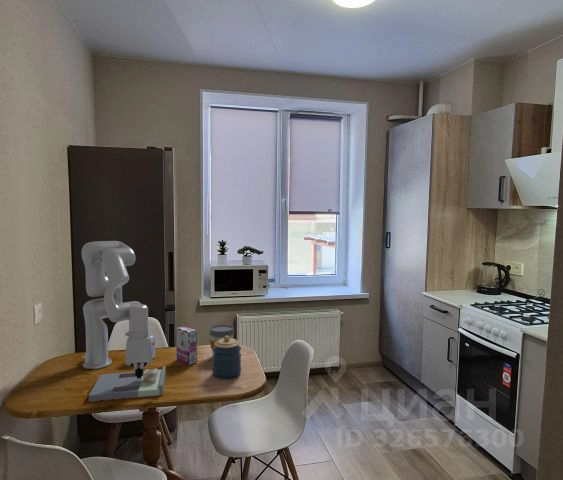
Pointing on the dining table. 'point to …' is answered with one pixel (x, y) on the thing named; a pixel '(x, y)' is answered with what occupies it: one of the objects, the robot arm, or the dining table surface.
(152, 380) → the clear glass block
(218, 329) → the reusable coffee cup
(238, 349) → the canister
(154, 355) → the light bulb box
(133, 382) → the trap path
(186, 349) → the candy bar box
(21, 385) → the dining table surface
